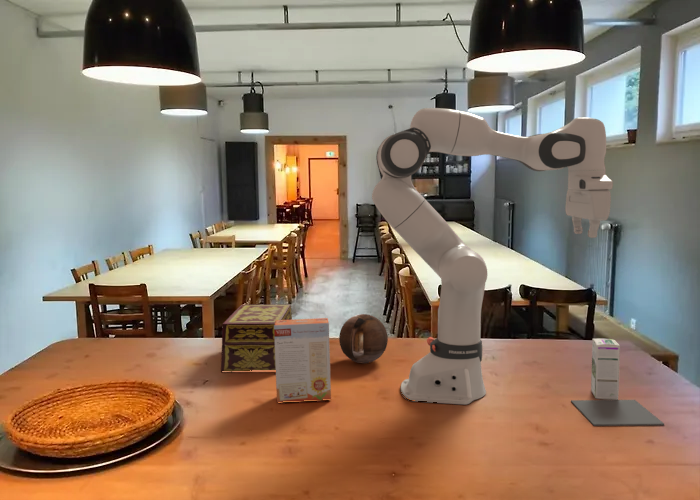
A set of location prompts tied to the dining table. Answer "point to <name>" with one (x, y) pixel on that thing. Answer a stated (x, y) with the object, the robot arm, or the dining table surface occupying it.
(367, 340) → the wooden sphere
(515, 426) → the dining table surface
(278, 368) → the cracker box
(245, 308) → the decorative box
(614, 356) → the syrup box
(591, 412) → the mat
